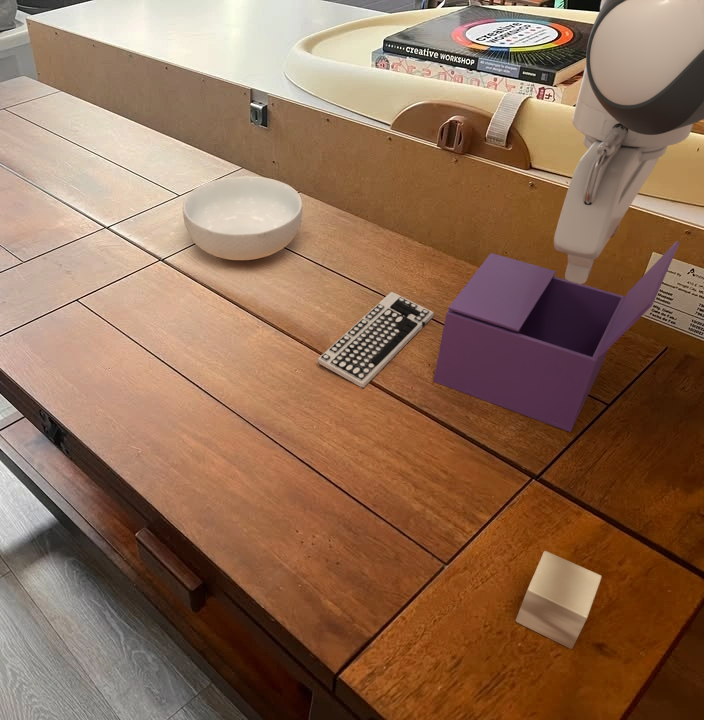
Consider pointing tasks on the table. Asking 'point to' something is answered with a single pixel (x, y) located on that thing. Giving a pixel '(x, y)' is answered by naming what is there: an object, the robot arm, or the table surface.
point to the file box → (526, 340)
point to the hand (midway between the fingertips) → (591, 255)
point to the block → (558, 599)
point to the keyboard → (376, 339)
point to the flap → (639, 299)
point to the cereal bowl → (242, 216)
